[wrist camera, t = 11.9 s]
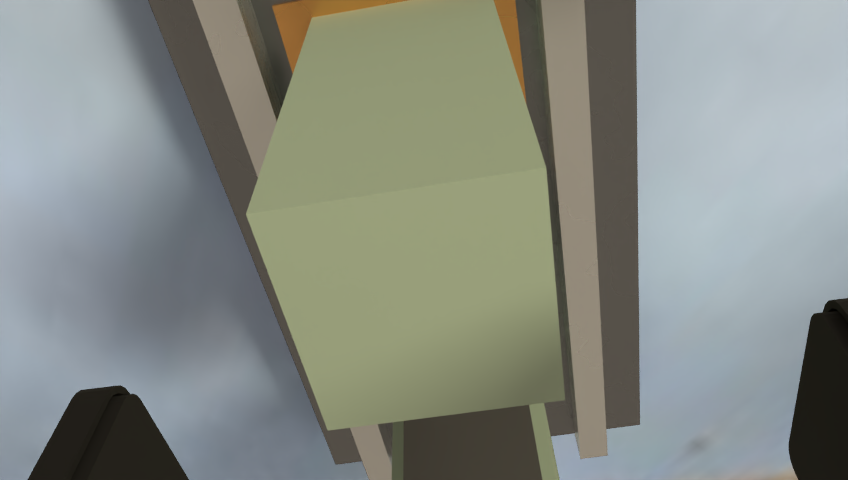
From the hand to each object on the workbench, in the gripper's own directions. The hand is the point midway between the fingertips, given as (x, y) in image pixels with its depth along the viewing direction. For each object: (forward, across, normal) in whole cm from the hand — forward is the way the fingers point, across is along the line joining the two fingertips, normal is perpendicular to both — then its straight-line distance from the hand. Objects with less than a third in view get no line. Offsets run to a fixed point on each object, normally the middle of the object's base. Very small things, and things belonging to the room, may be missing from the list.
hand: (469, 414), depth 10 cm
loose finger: (+11, +1, 0) cm, 11 cm away
